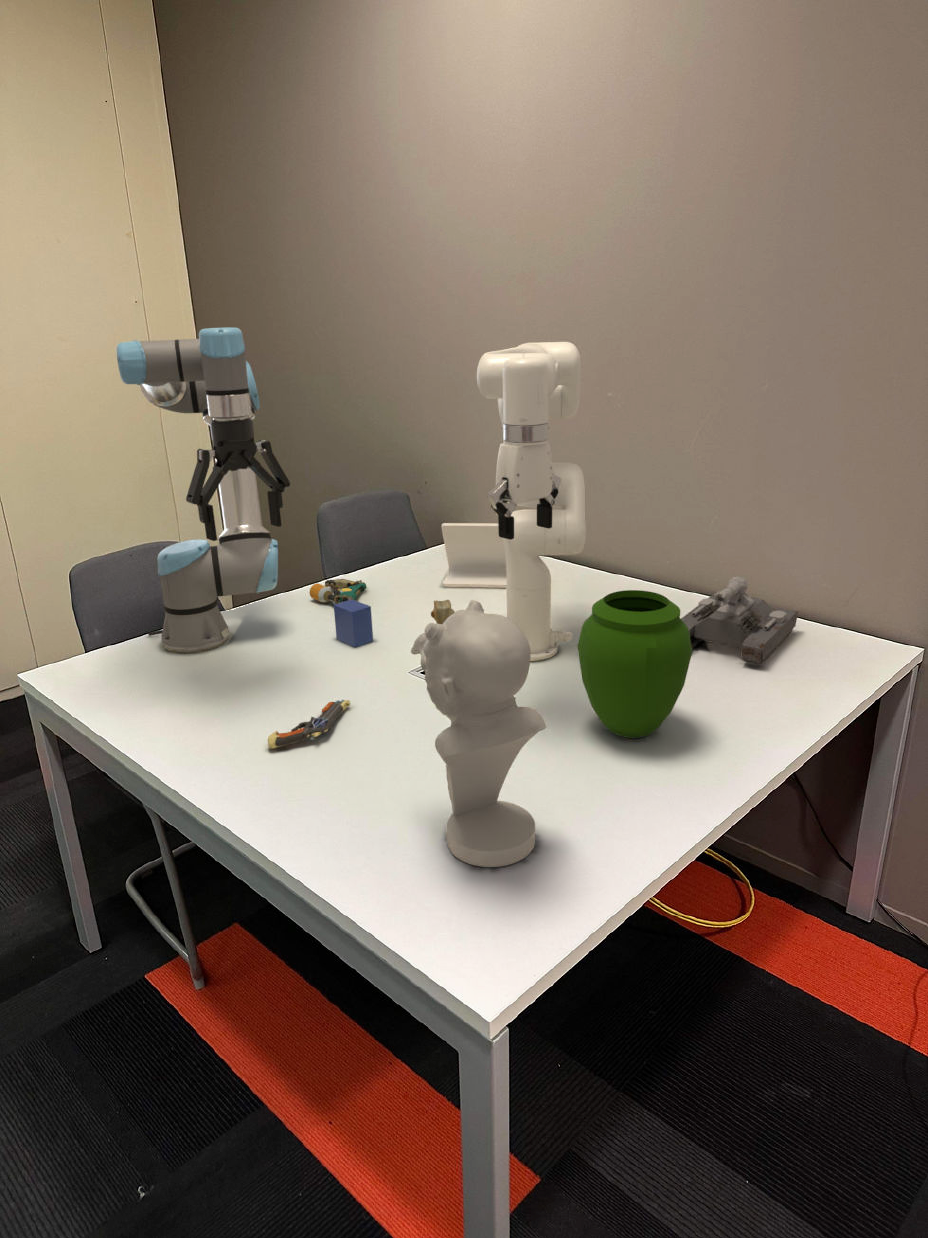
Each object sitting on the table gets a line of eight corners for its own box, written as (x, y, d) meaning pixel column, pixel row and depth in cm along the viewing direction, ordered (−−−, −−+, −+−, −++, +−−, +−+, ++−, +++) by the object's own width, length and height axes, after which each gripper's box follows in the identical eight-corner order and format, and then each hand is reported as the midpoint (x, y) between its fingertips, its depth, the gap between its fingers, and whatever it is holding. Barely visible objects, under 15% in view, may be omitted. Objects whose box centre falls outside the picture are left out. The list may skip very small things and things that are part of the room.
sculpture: (458, 662, 183) (456, 596, 178) (460, 676, 176) (457, 608, 171) (431, 663, 183) (428, 597, 177) (431, 677, 176) (428, 609, 171)
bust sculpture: (481, 772, 140) (476, 569, 128) (565, 848, 120) (569, 617, 108) (392, 800, 134) (378, 588, 121) (465, 886, 114) (457, 642, 101)
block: (354, 633, 201) (352, 599, 198) (373, 641, 196) (370, 606, 193) (336, 639, 198) (333, 604, 195) (354, 647, 193) (352, 612, 190)
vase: (701, 718, 156) (710, 592, 147) (663, 766, 141) (671, 629, 132) (602, 695, 166) (606, 576, 157) (557, 738, 151) (558, 608, 142)
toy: (710, 615, 205) (715, 555, 200) (796, 631, 194) (803, 568, 189) (667, 650, 186) (671, 585, 181) (759, 670, 175) (767, 601, 170)
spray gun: (334, 586, 236) (381, 594, 231) (299, 601, 222) (348, 610, 216) (334, 571, 235) (381, 579, 229) (298, 586, 221) (348, 594, 215)
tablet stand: (534, 588, 228) (534, 526, 222) (442, 586, 231) (439, 525, 225) (538, 568, 245) (538, 509, 239) (451, 566, 248) (449, 509, 242)
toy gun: (262, 738, 148) (316, 736, 146) (302, 698, 166) (350, 695, 164) (265, 752, 149) (319, 750, 147) (304, 710, 167) (353, 708, 165)
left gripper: (279, 409, 164) (290, 516, 172) (155, 424, 149) (173, 541, 156) (301, 412, 159) (311, 522, 167) (174, 427, 143) (192, 549, 151)
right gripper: (543, 426, 152) (543, 519, 158) (472, 438, 141) (475, 538, 147) (576, 429, 147) (574, 526, 153) (505, 442, 136) (506, 546, 142)
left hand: (244, 532), depth 161 cm, fingers open, 13 cm apart
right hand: (525, 532), depth 150 cm, fingers open, 9 cm apart
